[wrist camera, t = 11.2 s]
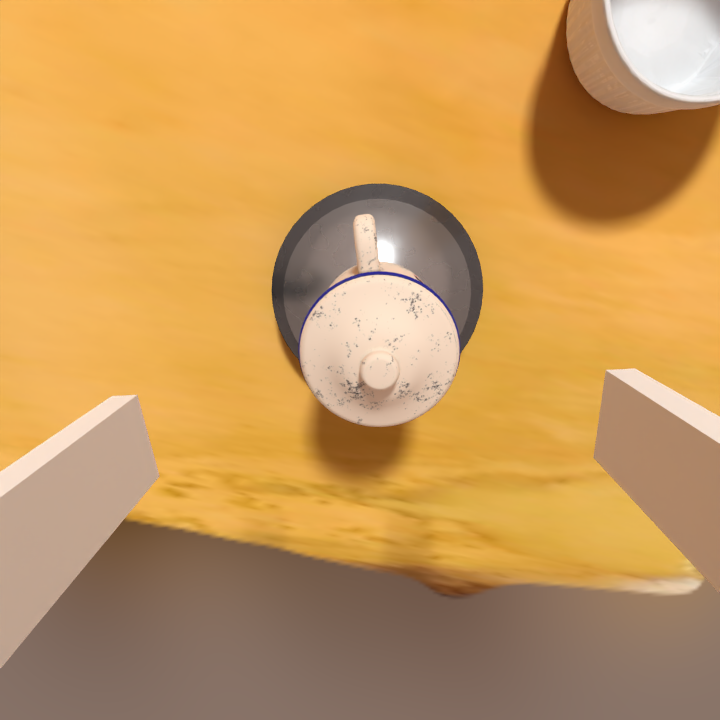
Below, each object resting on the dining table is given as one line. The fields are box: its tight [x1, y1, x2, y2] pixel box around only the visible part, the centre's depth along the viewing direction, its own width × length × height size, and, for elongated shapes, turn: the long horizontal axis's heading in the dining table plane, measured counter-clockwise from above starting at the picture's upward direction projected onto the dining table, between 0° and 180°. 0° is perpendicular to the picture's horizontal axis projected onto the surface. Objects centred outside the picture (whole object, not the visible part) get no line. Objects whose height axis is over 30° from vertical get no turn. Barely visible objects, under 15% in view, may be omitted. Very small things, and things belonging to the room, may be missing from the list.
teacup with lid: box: [298, 214, 460, 427], centre depth 25 cm, size 12×9×12 cm
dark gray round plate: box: [272, 184, 483, 359], centre depth 32 cm, size 16×16×3 cm
